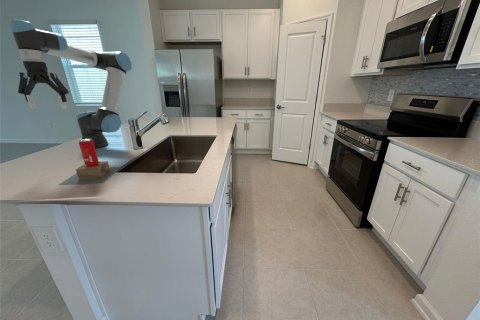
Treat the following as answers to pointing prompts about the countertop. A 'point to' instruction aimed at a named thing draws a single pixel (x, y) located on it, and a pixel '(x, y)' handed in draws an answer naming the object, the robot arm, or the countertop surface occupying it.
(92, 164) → the beverage can
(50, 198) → the countertop surface
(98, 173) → the base block
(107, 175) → the mat
